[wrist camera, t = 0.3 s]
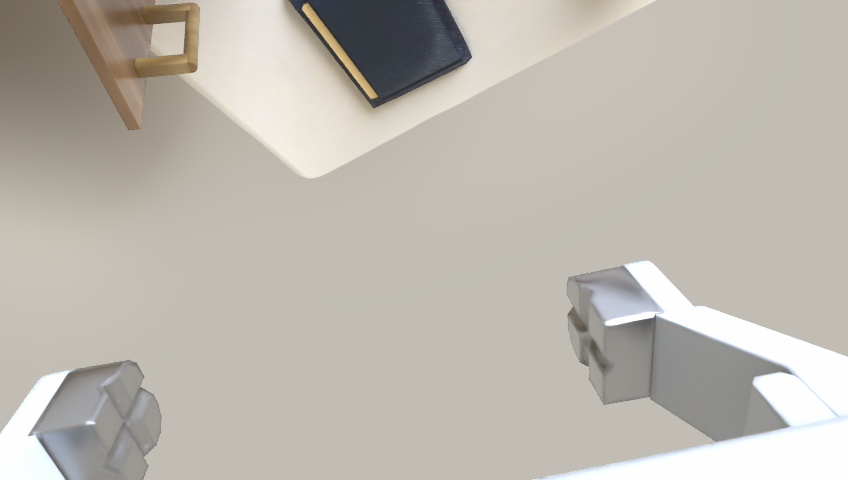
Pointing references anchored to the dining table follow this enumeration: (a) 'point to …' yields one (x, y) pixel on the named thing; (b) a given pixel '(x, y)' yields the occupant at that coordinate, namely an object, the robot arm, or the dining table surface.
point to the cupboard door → (131, 46)
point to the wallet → (388, 42)
